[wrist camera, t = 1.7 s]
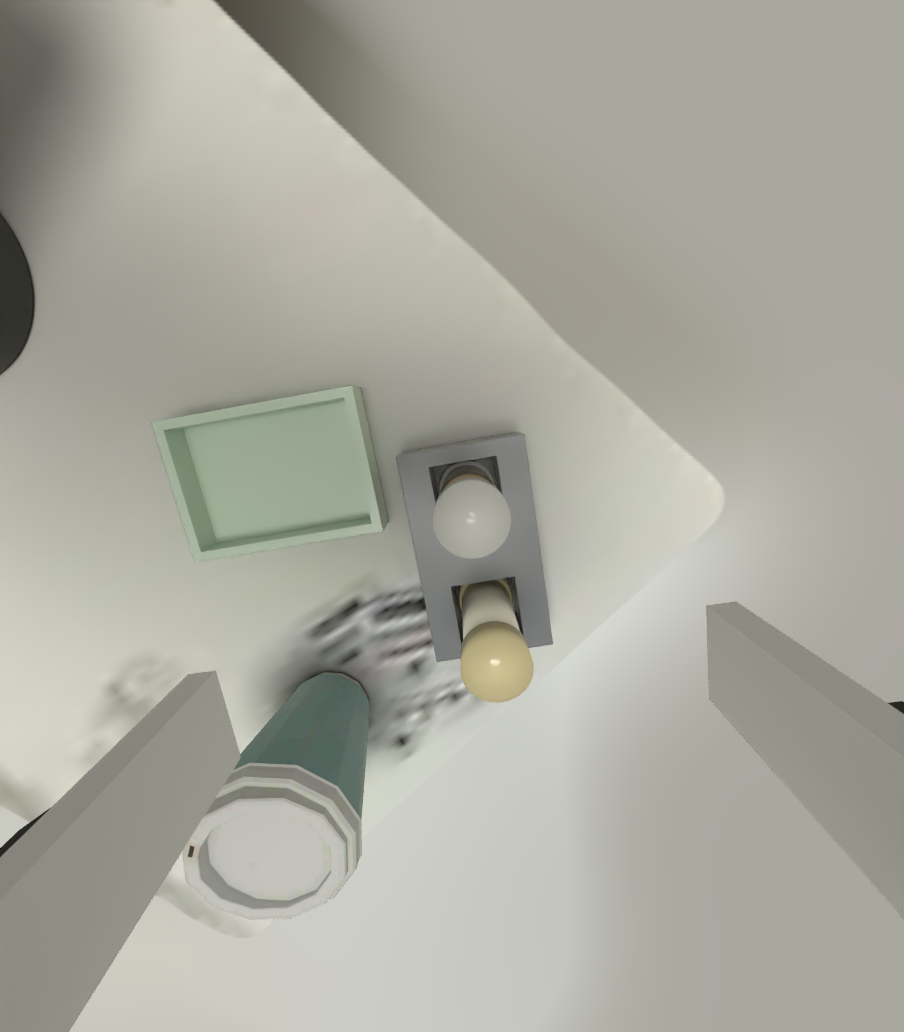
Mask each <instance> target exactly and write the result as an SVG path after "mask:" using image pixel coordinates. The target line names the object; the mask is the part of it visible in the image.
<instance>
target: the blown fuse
mask: <svg viewBox="0 0 904 1032" xmlns="http://www.w3.org/2000/svg"><path fill="white" fill-rule="evenodd" d="M439 492H440V495H439V497H438V499H437V501H436V505H435V509H434V514H433V528H434V532H435V534H436V537H437V539H438V540H439V542H440V543H441V545H442V546H443V547H444V548H445V549H446V550H448V551H449V552H451V553H452V554H454V555H456V556H459V557H463V558H471V559H474V558H481V557H484V556H487V555H489V554H491V553H493V552H494V551H496V550H497V549H498V548H499V547H500V546H501V545H502V544H503V543H504V541H505V540H506V538H507V536H508V534H509V531H510V527H511V513H510V509H509V507H508V504H507V502H506V500H505V499H504V497H503V495H502V494H501V492H500V491H499V490H498V489H497V487H496V486H495V483H494V480H493V478H492V476H491V474H490V472H489V471H488V469H487V468H486V467H485V466H484V465H482V464H481V463H479V462H477V461H474V460H468V461H462V462H456V463H453V464H451V465H450V466H449V467H448V468H447V469H446V470H445V472H444V473H443V475H442V478H441V482H440V488H439Z"/></svg>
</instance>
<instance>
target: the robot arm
mask: <svg viewBox="0 0 904 1032" xmlns="http://www.w3.org/2000/svg"><path fill="white" fill-rule="evenodd" d="M32 305H33V299H32V286H31V280H30V275H29V271H28V267H27V264H26V261H25V258H24V256H23V253H22V251H21V248H20V246H19V244H18V242H17V240H16V238H15V236H14V234H13V233H12V231H11V229H10V228H9V226H8V225H7V223H6V222H5V220H4V219H3V218H2V216H1V215H0V373H1V372H2V371H3V370H5V369H6V368H7V367H8V366H9V365H10V364H11V363H12V362H13V360H14V359H15V358H16V356H17V355H18V354H19V352H20V350H21V348H22V347H23V345H24V342H25V340H26V337H27V335H28V332H29V328H30V323H31V318H32ZM706 613H707V645H708V646H707V647H708V680H709V700H710V701H711V702H712V703H713V704H714V705H715V706H716V708H717V709H718V710H719V711H720V712H721V713H722V714H723V715H724V717H725V718H726V719H727V720H728V721H729V722H730V723H731V725H732V726H733V727H734V728H735V729H736V730H737V731H738V732H739V734H740V735H741V736H742V737H743V738H744V739H745V740H746V741H747V743H748V744H749V745H750V746H751V747H752V748H753V749H754V750H755V752H756V753H757V754H758V755H759V756H760V757H761V758H762V759H763V761H764V762H765V763H766V764H767V765H768V766H769V767H770V768H771V770H772V771H773V772H774V773H775V774H776V775H777V776H778V778H779V779H780V780H781V781H782V782H783V783H784V784H785V785H786V787H787V788H788V789H789V790H790V791H791V792H792V793H793V795H794V796H795V797H796V798H797V799H798V800H799V801H800V802H801V804H803V806H804V807H805V808H806V809H807V810H808V812H809V813H810V814H811V815H812V816H813V817H814V818H815V819H816V821H817V822H818V823H819V824H820V825H821V826H822V827H823V828H824V830H825V831H826V832H827V833H828V834H829V835H830V836H831V837H832V839H833V840H834V841H835V842H836V843H837V844H838V845H839V847H840V848H841V849H842V850H843V851H844V852H845V853H846V854H847V856H848V857H849V858H850V859H851V860H852V861H853V862H854V863H855V865H856V866H857V867H858V868H859V869H860V870H861V871H862V872H863V874H864V875H865V876H866V877H867V878H868V879H869V880H870V882H871V883H872V884H873V885H874V886H875V887H876V888H877V889H878V891H879V892H880V893H881V894H882V895H883V896H884V897H885V898H886V899H887V900H888V902H889V903H890V904H891V905H892V906H893V907H894V909H895V910H896V911H897V912H898V913H899V914H900V915H901V917H902V918H903V919H904V702H902V701H900V702H892V703H887V702H885V701H883V700H882V699H881V698H879V697H878V696H876V695H875V694H873V693H872V692H870V691H869V690H867V689H866V688H864V687H863V686H861V685H860V684H858V683H857V682H855V681H854V680H852V679H851V678H849V677H848V676H846V675H845V674H843V673H842V672H840V671H839V670H837V669H836V668H834V667H833V666H831V665H830V664H828V663H827V662H825V661H824V660H823V659H821V658H820V657H818V656H817V655H815V654H813V653H812V652H811V651H809V650H808V649H806V648H805V647H803V646H802V645H800V644H799V643H797V642H796V641H794V640H793V639H791V638H790V637H788V636H787V635H785V634H784V633H782V632H781V631H779V630H778V629H776V628H775V627H773V626H772V625H770V624H769V623H767V622H766V621H764V620H763V619H761V618H760V617H758V616H757V615H755V614H754V613H753V612H751V611H750V610H748V609H746V608H745V607H744V606H742V605H740V604H739V603H738V602H730V603H723V604H715V605H708V606H706ZM240 758H241V756H240V752H239V749H238V746H237V742H236V739H235V735H234V732H233V728H232V725H231V722H230V718H229V715H228V711H227V708H226V705H225V701H224V698H223V694H222V691H221V687H220V684H219V681H218V677H217V674H216V671H210V672H203V673H195V674H188V675H187V676H186V677H185V678H184V679H183V680H182V681H181V682H180V683H179V684H178V685H177V686H176V687H175V688H174V689H173V690H172V691H171V692H170V693H169V694H168V695H167V696H166V697H165V698H164V699H163V700H162V701H160V702H159V703H158V704H157V705H156V706H155V707H154V708H153V709H152V710H151V711H150V712H149V713H148V714H147V715H146V716H145V717H144V718H143V719H142V720H141V721H140V722H139V723H138V724H137V725H136V726H135V727H134V728H133V729H132V730H131V731H130V732H129V733H128V734H127V735H126V736H124V737H123V738H122V739H121V740H120V741H119V742H118V743H117V744H116V745H115V746H114V747H113V748H112V749H111V750H110V751H109V752H108V753H107V754H106V755H105V756H104V757H103V758H102V759H101V760H100V761H99V762H98V763H97V764H96V765H95V766H94V767H93V768H92V769H91V770H90V771H88V772H87V773H86V774H85V775H84V776H83V777H82V778H81V779H80V780H79V781H78V782H77V783H76V784H75V785H74V786H73V787H72V788H71V789H70V790H69V791H68V792H67V793H66V794H65V795H64V796H63V797H62V798H61V799H60V800H59V801H58V802H57V803H56V804H55V805H54V806H53V807H51V808H50V809H48V810H47V811H45V812H44V813H43V814H41V815H40V816H38V817H37V818H36V819H34V820H33V821H31V822H30V823H29V824H27V825H26V826H24V827H23V828H22V829H20V830H19V831H18V832H17V833H16V834H15V835H14V836H13V837H12V838H10V839H9V840H8V841H7V842H6V843H5V844H4V845H3V846H2V847H1V848H0V1032H69V1031H70V1029H71V1027H72V1026H73V1024H74V1023H75V1021H76V1020H77V1018H78V1016H79V1015H80V1013H81V1012H82V1010H83V1008H84V1007H85V1005H86V1003H87V1002H88V1000H89V999H90V997H91V996H92V994H93V993H94V991H95V989H96V988H97V986H98V985H99V983H100V981H101V980H102V978H103V976H104V975H105V973H106V972H107V970H108V969H109V967H110V965H111V964H112V962H113V961H114V959H115V957H116V956H117V954H118V953H119V951H120V949H121V948H122V946H123V945H124V943H125V941H126V940H127V938H128V937H129V935H130V934H131V932H132V930H133V929H134V927H135V925H136V924H137V922H138V921H139V919H140V918H141V916H142V914H143V913H144V911H145V909H146V908H147V906H148V905H149V903H150V902H151V900H152V898H153V897H154V895H155V894H156V892H157V890H158V889H159V887H160V886H161V884H162V882H163V881H164V879H165V878H166V876H167V875H168V873H169V871H170V870H171V868H172V867H173V865H174V863H175V862H176V860H177V859H178V857H179V855H180V854H181V852H182V851H183V849H184V847H185V846H186V844H187V843H188V841H189V839H190V838H191V836H192V835H193V833H194V831H195V830H196V828H197V827H198V825H199V823H200V822H201V820H202V819H203V817H204V816H205V814H206V812H207V811H208V809H209V808H210V806H211V804H212V803H213V801H214V800H215V798H216V796H217V795H218V793H219V792H220V790H221V788H222V787H223V785H224V784H225V782H226V780H227V779H228V777H229V776H230V774H231V772H232V771H233V769H234V768H235V766H236V764H237V763H238V761H239V760H240Z"/></svg>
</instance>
